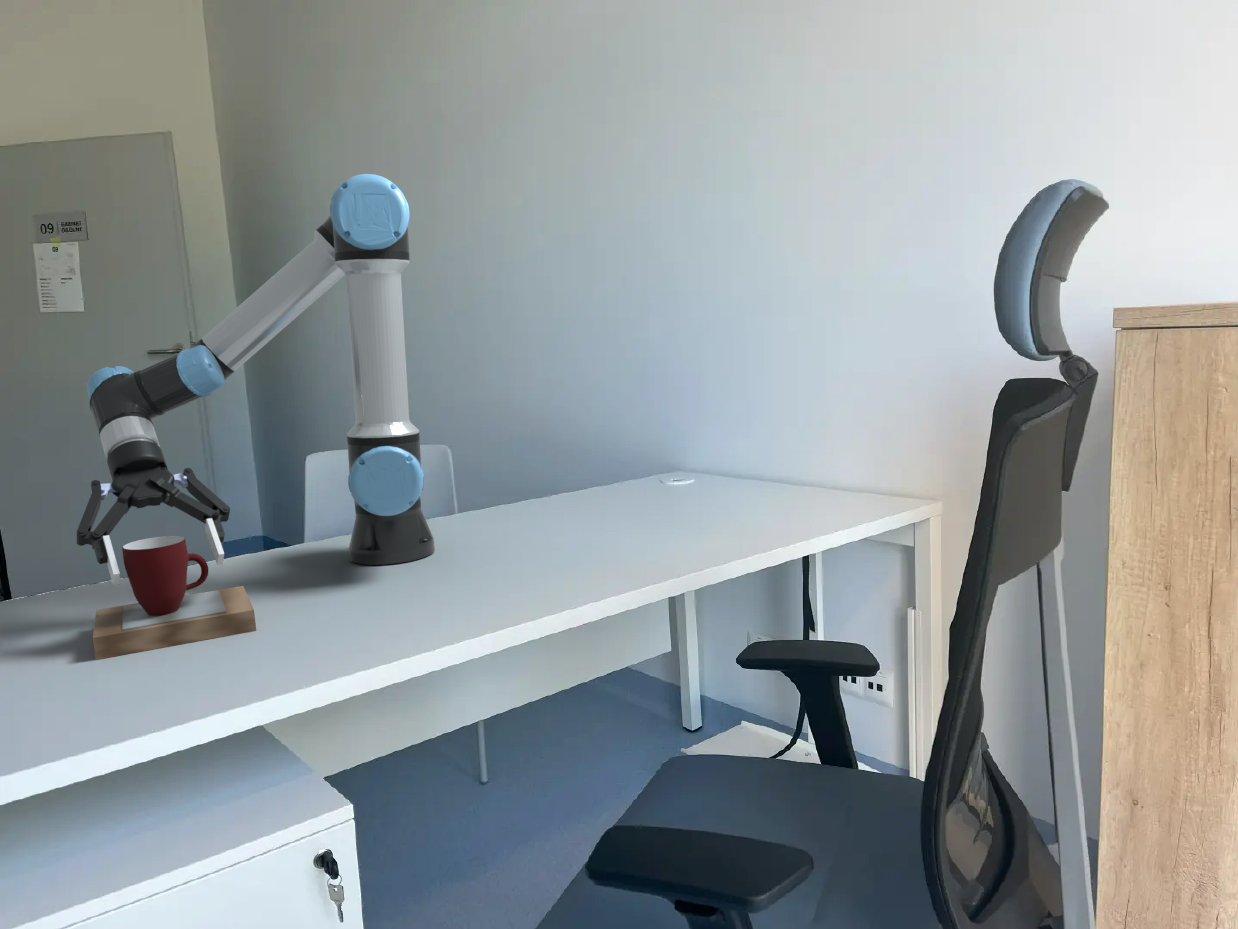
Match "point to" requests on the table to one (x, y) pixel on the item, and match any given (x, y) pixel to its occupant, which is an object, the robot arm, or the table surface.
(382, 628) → the table surface
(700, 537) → the table surface
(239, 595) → the plinth
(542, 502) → the table surface
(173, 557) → the mug
